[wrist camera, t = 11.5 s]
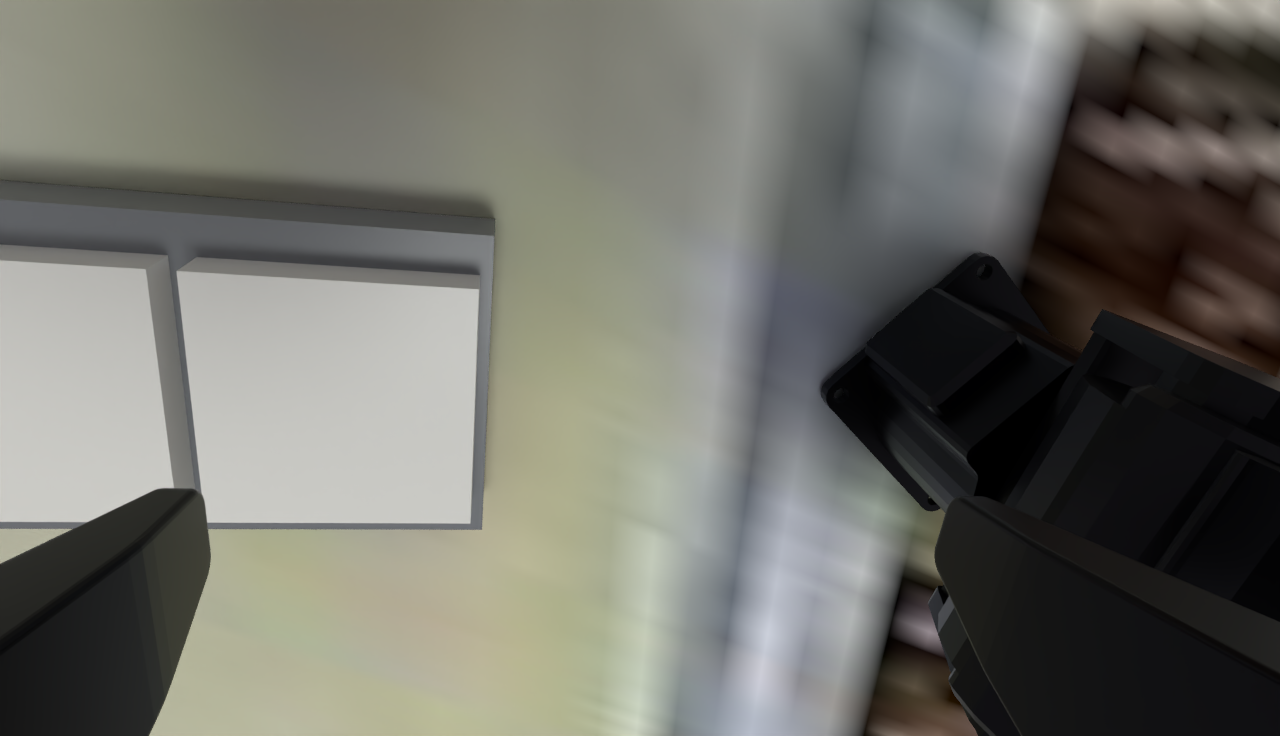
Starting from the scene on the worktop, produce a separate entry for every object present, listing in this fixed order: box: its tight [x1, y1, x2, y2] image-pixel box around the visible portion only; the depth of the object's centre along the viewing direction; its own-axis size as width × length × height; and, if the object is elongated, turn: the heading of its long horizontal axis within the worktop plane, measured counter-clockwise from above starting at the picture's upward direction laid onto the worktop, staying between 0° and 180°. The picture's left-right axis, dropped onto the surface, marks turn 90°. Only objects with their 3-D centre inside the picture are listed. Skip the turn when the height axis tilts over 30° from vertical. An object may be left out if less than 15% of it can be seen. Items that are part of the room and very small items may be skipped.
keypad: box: [0, 180, 495, 530], centre depth 18 cm, size 22×8×3 cm, turn 83°
